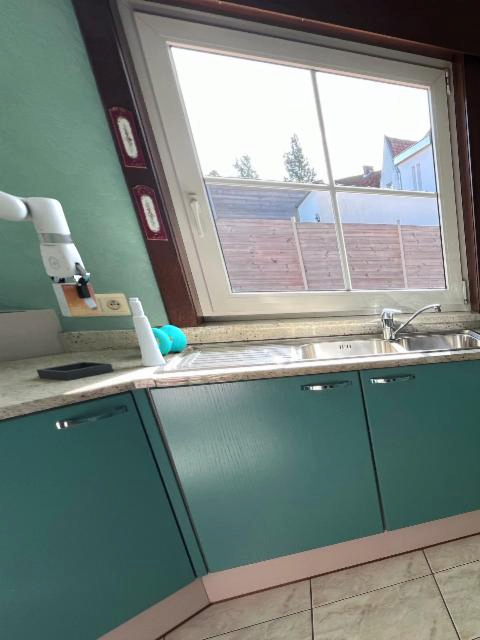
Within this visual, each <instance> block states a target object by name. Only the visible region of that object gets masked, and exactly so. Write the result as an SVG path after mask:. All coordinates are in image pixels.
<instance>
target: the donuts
mask: <svg viewBox="0 0 480 640" xmlns="http://www.w3.org/2000/svg"><path fill="white" fill-rule="evenodd" d="M151 329H152V332H153V335H154V337H155V340H156V343H157V345H158V348H159V350H160V352H161V354H162V356H164V355H167V354H169V353H170V352H172V353H173V352H175V353H178V352H181V351H183V350H185V349H186V347H187V345H188V340H187V337H186V335H185V333H184V332H183V331H182V330H181V329H180V328H179V327H176V326H174V325H171V324H170V325H169V324H168V325H163V326H161V327H160V328H157V327H151ZM157 340H158V341H159V342H158V341H157ZM171 340H172V341H171Z"/></svg>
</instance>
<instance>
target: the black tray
mask: <svg viewBox="0 0 480 640" xmlns="http://www.w3.org/2000/svg"><path fill="white" fill-rule="evenodd" d="M36 372H37V375H38V378H39V379H45V380H57V381H72V380H78V379H84V378H88V377H94V376H98V375H103V374H108V373H114V367H113V365H112V363H107V362H95V361H94V362H93V361H80V362H74V363H68V364H62V365H57V366H51V367H45V368H39V369H36Z"/></svg>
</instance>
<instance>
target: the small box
mask: <svg viewBox="0 0 480 640" xmlns="http://www.w3.org/2000/svg"><path fill="white" fill-rule="evenodd" d="M51 285H52V288H53V291H54V294H55V297H56V300H57V303H58V305H59V308H60V311H61V314H62V316H63V317H70V318H74V317H96V316H97V317H98V316H101V315H102V314H101V310H100V307H99V304H98V301H97V298H96V295H95V292H94V289H93V285H92V284H91V283H88V289H89V292H90V295H91V298H79V296H78V293H77V290H76V287H75V286H77V285H76V283H75V282H70V283H68V282H67V283H62V284H54V283H52V284H51Z"/></svg>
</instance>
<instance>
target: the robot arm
mask: <svg viewBox="0 0 480 640" xmlns="http://www.w3.org/2000/svg"><path fill="white" fill-rule="evenodd" d="M0 219H3V220H6V221H8V222H9V221H10V222H15V223H16V222H32V223H33V226H34V228H35V231H36V234H37V237H38V240H39V243H40V244H39V249H40V255H41V260H42V263H43V266H44V269H45V274H46V275H47V276H48V277H49V278H50V279H51V281H53V284H62V283H68V278H71V279H72V281H73V283H76V285H77V286H75V287H76V290H77V293H78V296H79V298H91V295H90V292H89V289H88V284H89V281H90V277H91V273H90V272H88V270H86V268H85V265H84V262H83V259H82V258H81V255H80V253H79V250H78V249H77V247H76V245H75V243H74V240H73V236H72V235H71V231H70V228H69V225H68V222H67V218H66V216H65V212H64V211H63V206H62V205H61V203H60V201H59V200H57V199H55V198H50V197H40V196H29V197H22V196H15V195H12V194H10V193H8V192H4V191H1V190H0Z"/></svg>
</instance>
